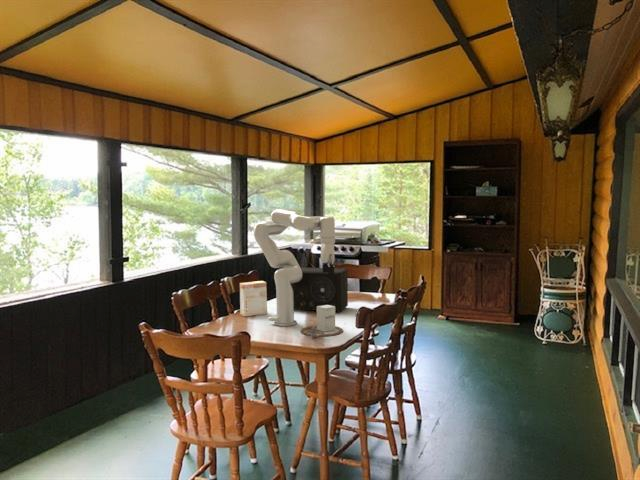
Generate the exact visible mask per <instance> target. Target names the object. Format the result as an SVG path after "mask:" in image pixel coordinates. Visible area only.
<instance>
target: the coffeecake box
mask: <svg viewBox="0 0 640 480" xmlns="http://www.w3.org/2000/svg"><path fill="white" fill-rule="evenodd" d="M267 290H268V289H267V281H264V280H257V281H248V282H247V281H246V282H239V305H240V307H239V308H240V309H239V310H240V315H241V316H243V317H250V316H251V317H252V316H259V315H267V314H268V297H267V296H268V294H267Z"/></svg>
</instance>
